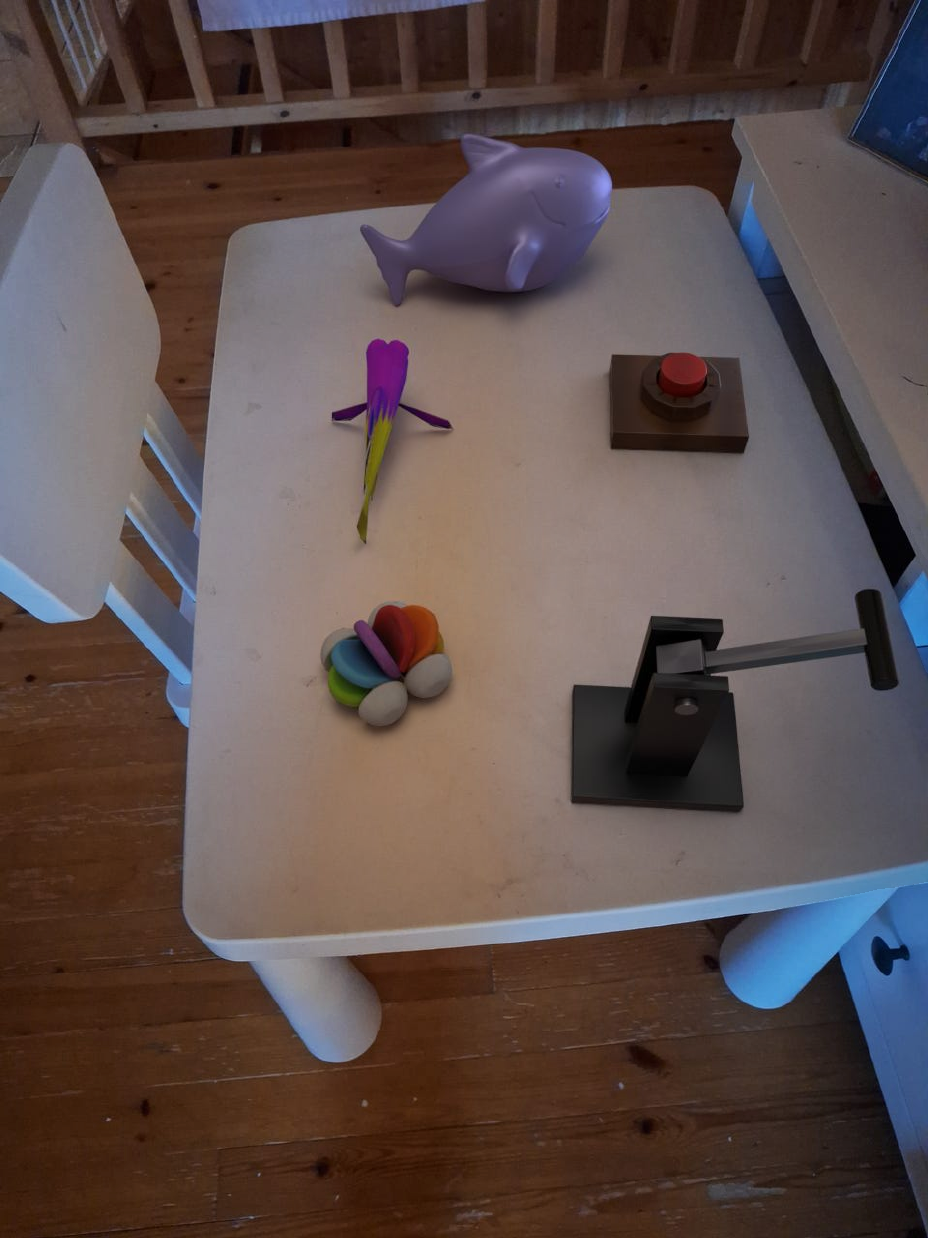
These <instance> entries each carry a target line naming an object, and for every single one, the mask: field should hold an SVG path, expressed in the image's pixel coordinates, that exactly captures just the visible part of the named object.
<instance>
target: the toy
mask: <svg viewBox="0 0 928 1238" xmlns="http://www.w3.org/2000/svg"><path fill="white" fill-rule="evenodd" d="M409 354H410V349H409V347H408V346H407V344H406V343H404V342H402V341H400V340H398V339H393V340H390V341H389V342H388V343H387V341H386V340H384V339H381V338H375V339H373V340H371V341H370V342H369V344H368V345H367V347H366V351H365V355H366V356H365V358H366V401H365V402H363V403H358V404H355V405H352V406H348V407H345V408H342V409H339V410H335V411H332V412H331V419H330V420H331V421H330V422H350V421H352V420H354V419H355V418H357V417H358V416H360V415H361V414H362V413H364V412H365V463H364V478H363V479H364V480H363V494H364V499H363V503H362V507H361V510H360V513H359V517H358V520H357V525H356V529H357V532H358V534H359V539H360V540H361V541H362V542H363V543H364V545H367V535H368V523H369V522H368V521H369V509H370V508H369V507H370V503H372V502H373V501H374V498H375V493H376V487H377V480H378V472H379V469H380V466H381V462H382V460H383V456H384V454H385V450H386V446H387V443H388V440H389V437H390V435H391V430H392V428H393V425H394V421H395V418H396V415H397V412H398V409H399V408H401V409H403V410H405V411H406V412H408V413H410V414H411V415H413V416H415V417H416V418H418V419H420V420H421V421H423V422H425V423H426V424H428V425H430V426H431V427H434V428H440V429H445V430H452V431H454V430H455V429H454V428H453V426H452V424H451V422H450V421H449V420H448V419H446V418H442V417H440V416H437V415H434V414H432V413H429V412H427V411H424V410H421V409H418V408H415V407H412V406H410V405H407V404H405V403H402V402H400V401H401V399H402V396H403V392H404V389H405V385H406V382H407V375H408V367H409Z"/></svg>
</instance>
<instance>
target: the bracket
mask: <svg viewBox="0 0 928 1238" xmlns="http://www.w3.org/2000/svg"><path fill="white" fill-rule="evenodd" d="M724 629H725V628H724V619H723V618H713V617H712V618H711V617H710V618H709V617H691V616H689V617H687V616H669V615H668V616H665V615H650V618H649V621H648V625H647V628H646V633H645V636H644V639H643V642H642V647H641V650H640V653H639V656H638V660H637V663H636V668H635V671H634V675H633V677H632V678H633V679H632V682H631V686H613V685H591V684H573V686H572V692H571V693H572V695H571V697H572V698H571V706H572V707H571V770H570V771H571V773H570V774H571V775H570V776H571V777H570V778H571V779H570V780H571V782H570V783H571V785H570V802H571V803H572V804H586V805H587V804H588V805H601V806H602V805H603V806H619V807H621V806H622V807H638V808H656V809H671V810H673V809H674V810H687V811H688V810H691V811H705V812H706V811H707V812H722V813H723V812H724V813H741V812H742V810H743V808H744V807H745V802H744V794H743V793H744V792H743V781H742V772H741V771H742V770H741V760H740V749H739V739H738V737H739V736H738V729H737V728H738V727H737V717H736V707H735V694H734V692H732V691H730V685H729V684H730V683H729V677H728V676H727V675H711V676H710V675H690V674H669V673H657V653H656V647H657V646H659V645H665V644H672V643H678V642H685V641H691V640H697V639H701V640H702V643H703V645H704V647H705V649H706V651H714V650H718V647H719V645H720V643H721V640H722V638H723V636H724V633H725V630H724Z"/></svg>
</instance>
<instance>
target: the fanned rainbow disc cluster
mask: <svg viewBox="0 0 928 1238" xmlns="http://www.w3.org/2000/svg"><path fill="white" fill-rule="evenodd" d="M439 630H440V629H439V623H438V619H437V617H436V615H435V613H433V611H431V610H430V609H428V608H426V607H425V606H421V605H418V604H412V605H408V604H406V603H404V602H401V601H398V600H389V601H385V602H382V603H380V604H379V605H377V606H375V608H374V609H373V610H372V611H371V613H370V615H369V616H368V620H367V621H366V620H364V619H359V620H357V621H355V622H354V624H353V628H352V627H344V628H339V629H336V630H333V631H332V632H331V633H329V634H328V635H327V636H326V637H325V639H324V641H323V642H322V644H321V647H320V653H319V654H320V662H321V664H322V667H323V668H324V669H325V671H328V674H327V675H328V677H327V685H328V690H329V692H330V694H331V696H332V698H334V700H336V701H337V702H338V703H340V704H342V705H344V706H348V707H352V708H358V711H357V714H358V716H359V717H360V719H361V720H363V721H364V722H365V723H367V724H369V725H371V726H375V727H382V726H383V727H385V726H388V725H391V724H393V723H395V722H397V721H398V720H399V719H400V718H401V717H402V716H403V714H404V712H405V711H406V709H407V705H408V699H409V698H408V697H409V696H408V693H409V694H411V695H412V696H414V697H416V698H417V697H418V698H422V699H428V698H429V699H430V698H433V697H437V696H438V695H439V694H442V692H443V691H445V690H446V688H447V687H448V686H449V684H450V682H451V680H452V679H451V678H452V674H453V668H452V667H453V666H452V663H451V660H450V658H449V657H448V656H447V655H446V654H444V653H443V652H444V646H445V645H444V644H445V643H444V638H443V635H442V633H441V631H439ZM400 677H402V678H403V682H401V681H399V680H398V679H399V678H400Z"/></svg>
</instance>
